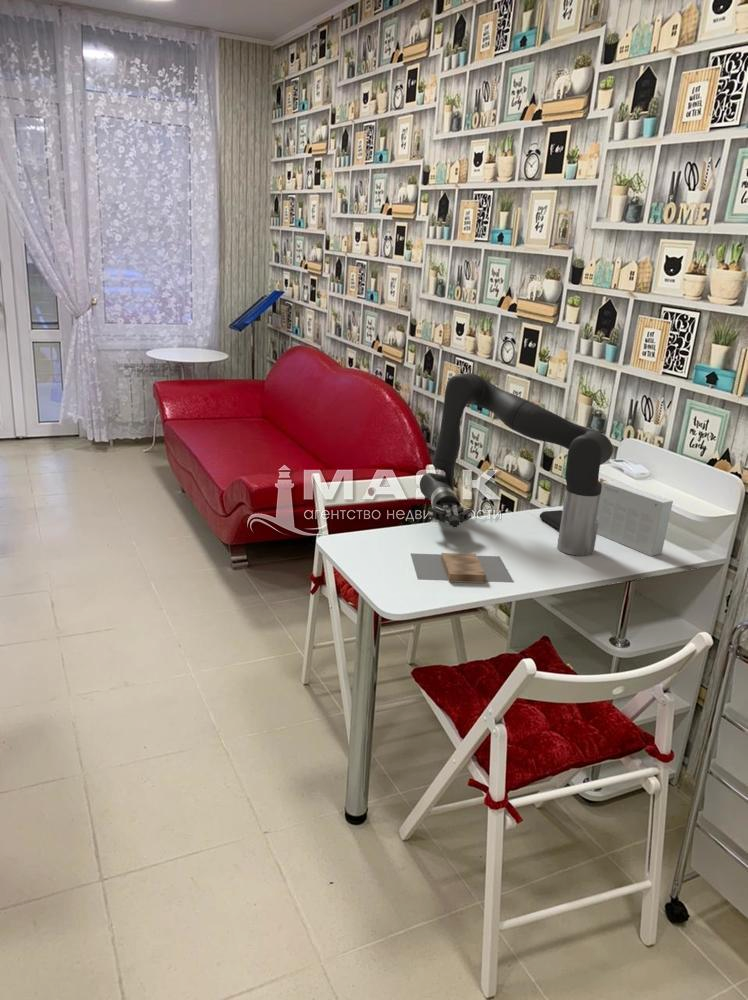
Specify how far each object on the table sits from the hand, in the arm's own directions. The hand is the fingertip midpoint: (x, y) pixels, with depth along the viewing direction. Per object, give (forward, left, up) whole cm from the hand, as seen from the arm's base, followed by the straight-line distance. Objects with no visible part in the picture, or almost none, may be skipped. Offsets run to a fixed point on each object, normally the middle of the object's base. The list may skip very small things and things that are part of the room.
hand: (455, 524), depth 202 cm
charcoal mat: (0, +13, -8) cm, 15 cm away
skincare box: (-53, -10, -8) cm, 54 cm away
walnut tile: (0, +9, -6) cm, 11 cm away
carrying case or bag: (-38, -22, -8) cm, 45 cm away
